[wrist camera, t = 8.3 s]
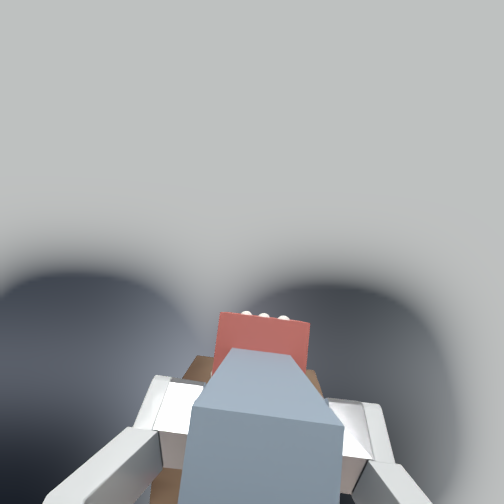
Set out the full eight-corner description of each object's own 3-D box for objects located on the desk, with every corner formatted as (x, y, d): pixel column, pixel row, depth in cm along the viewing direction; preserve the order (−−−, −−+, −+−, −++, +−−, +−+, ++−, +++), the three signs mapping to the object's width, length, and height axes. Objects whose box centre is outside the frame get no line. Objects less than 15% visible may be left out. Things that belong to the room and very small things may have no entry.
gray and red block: (380, 612, 7) (394, 330, 8) (108, 570, 7) (154, 300, 8) (291, 396, 25) (299, 317, 26) (214, 386, 26) (224, 308, 27)
